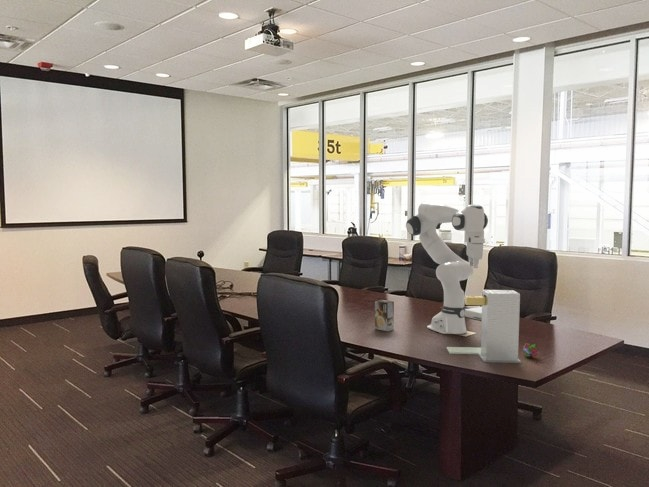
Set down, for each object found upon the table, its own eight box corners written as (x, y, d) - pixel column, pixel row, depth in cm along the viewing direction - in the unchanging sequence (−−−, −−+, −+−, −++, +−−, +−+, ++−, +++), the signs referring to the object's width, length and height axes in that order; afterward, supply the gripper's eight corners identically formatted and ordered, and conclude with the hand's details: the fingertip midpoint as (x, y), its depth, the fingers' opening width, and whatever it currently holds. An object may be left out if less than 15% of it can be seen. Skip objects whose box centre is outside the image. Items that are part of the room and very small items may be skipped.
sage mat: (449, 353, 247) (449, 352, 247) (446, 348, 256) (446, 346, 256) (497, 354, 246) (497, 353, 246) (492, 349, 255) (492, 347, 254)
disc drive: (509, 317, 328) (509, 309, 327) (486, 322, 315) (486, 313, 315) (486, 312, 342) (486, 305, 342) (463, 316, 329) (463, 309, 329)
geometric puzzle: (545, 354, 239) (536, 338, 243) (535, 356, 235) (526, 340, 239) (534, 360, 244) (526, 344, 248) (524, 362, 241) (516, 346, 244)
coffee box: (394, 329, 294) (394, 301, 292) (387, 331, 289) (387, 302, 288) (381, 326, 300) (381, 299, 299) (374, 328, 295) (374, 300, 294)
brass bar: (466, 305, 236) (466, 297, 236) (464, 303, 240) (465, 296, 240) (509, 305, 235) (509, 298, 235) (507, 304, 239) (507, 296, 238)
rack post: (484, 362, 234) (485, 293, 232) (478, 355, 245) (480, 289, 243) (520, 362, 233) (522, 294, 231) (513, 355, 244) (515, 290, 242)
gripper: (463, 237, 263) (462, 264, 264) (471, 239, 242) (470, 269, 243) (476, 237, 262) (475, 264, 263) (485, 239, 242) (484, 269, 243)
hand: (473, 266), depth 253 cm, fingers open, 8 cm apart
